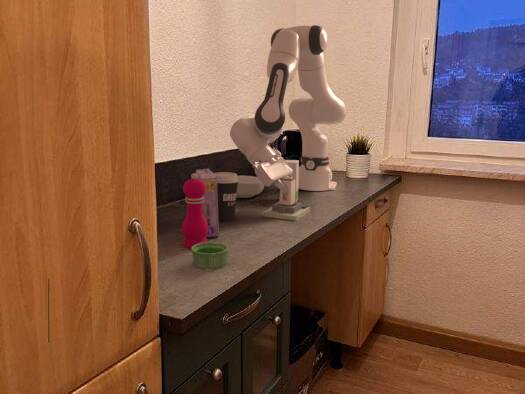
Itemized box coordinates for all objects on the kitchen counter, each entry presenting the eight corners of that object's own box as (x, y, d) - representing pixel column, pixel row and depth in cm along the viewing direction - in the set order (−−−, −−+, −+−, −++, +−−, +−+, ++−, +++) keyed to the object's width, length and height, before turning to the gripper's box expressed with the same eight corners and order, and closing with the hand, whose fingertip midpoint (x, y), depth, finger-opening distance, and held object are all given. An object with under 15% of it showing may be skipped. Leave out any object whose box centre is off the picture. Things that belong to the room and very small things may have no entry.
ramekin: (218, 273, 113) (218, 255, 112) (184, 267, 117) (184, 250, 116) (234, 261, 122) (234, 244, 121) (202, 256, 125) (202, 240, 124)
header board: (278, 207, 177) (278, 198, 176) (309, 211, 172) (310, 201, 172) (263, 216, 165) (263, 206, 164) (296, 220, 160) (296, 210, 159)
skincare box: (295, 203, 185) (297, 162, 181) (278, 202, 186) (279, 162, 182) (298, 198, 193) (299, 159, 189) (282, 197, 194) (283, 159, 191)
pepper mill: (182, 241, 136) (181, 170, 132) (208, 241, 137) (208, 171, 133) (180, 249, 129) (179, 175, 125) (208, 249, 130) (207, 175, 126)
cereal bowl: (246, 202, 184) (246, 184, 183) (214, 196, 194) (214, 179, 193) (272, 195, 198) (273, 178, 196) (241, 190, 207) (241, 173, 206)
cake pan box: (195, 221, 157) (195, 167, 153) (211, 220, 158) (211, 167, 154) (202, 239, 139) (201, 178, 135) (219, 238, 140) (219, 177, 136)
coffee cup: (216, 224, 154) (216, 177, 151) (205, 216, 163) (205, 172, 159) (243, 220, 159) (244, 175, 155) (231, 214, 167) (232, 171, 164)
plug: (283, 201, 170) (284, 176, 168) (294, 203, 169) (295, 177, 167) (279, 204, 167) (280, 178, 165) (290, 205, 165) (291, 179, 163)
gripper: (257, 156, 158) (284, 189, 156) (280, 150, 176) (305, 179, 174) (244, 169, 160) (271, 201, 158) (269, 161, 179) (293, 190, 177)
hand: (289, 189), depth 166 cm, fingers closed on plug, 4 cm apart
